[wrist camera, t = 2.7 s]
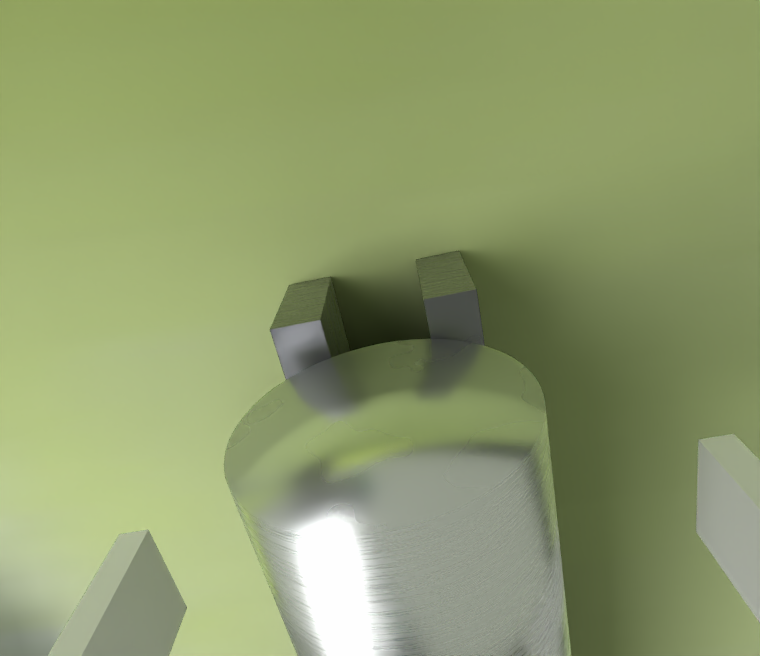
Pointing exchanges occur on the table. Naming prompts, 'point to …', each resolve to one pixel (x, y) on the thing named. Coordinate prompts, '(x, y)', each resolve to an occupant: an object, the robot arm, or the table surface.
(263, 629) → the table surface
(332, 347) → the gray metal rack
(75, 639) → the robot arm
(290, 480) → the tube
